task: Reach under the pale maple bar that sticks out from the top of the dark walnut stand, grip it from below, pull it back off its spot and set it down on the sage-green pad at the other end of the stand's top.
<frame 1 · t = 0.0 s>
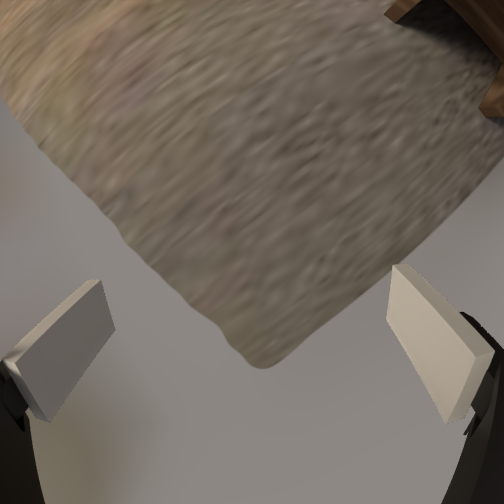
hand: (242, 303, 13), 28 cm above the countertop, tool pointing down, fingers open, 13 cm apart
walnut stand: (457, 40, 29), on the countertop
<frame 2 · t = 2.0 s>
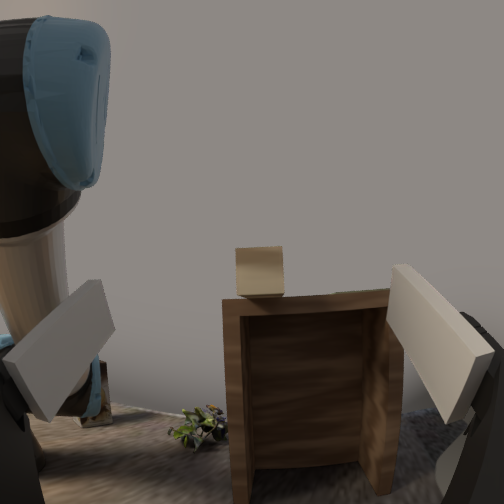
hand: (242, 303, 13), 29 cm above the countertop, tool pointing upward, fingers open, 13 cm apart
maple bar: (265, 298, 37), point 30 cm above the countertop, touching walnut stand
coffee box: (93, 422, 58), on the countertop
walnut stand: (310, 482, 36), on the countertop
passion flower: (203, 447, 52), on the countertop
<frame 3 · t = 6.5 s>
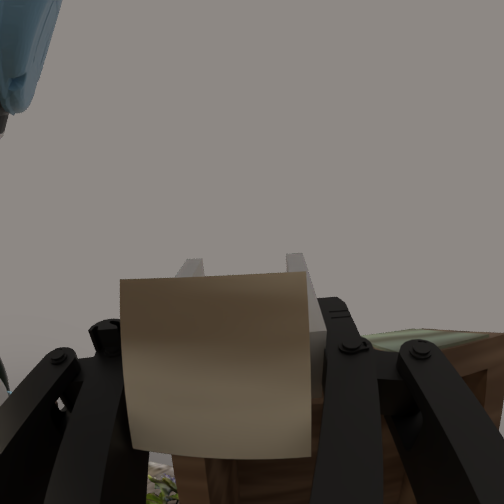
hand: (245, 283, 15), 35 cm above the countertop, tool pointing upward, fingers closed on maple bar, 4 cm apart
maple bar: (254, 366, 17), point 30 cm above the countertop, touching gripper, walnut stand
beer bottle: (1, 434, 44), on the countertop
when the fingers open (36 cm above the countertop, at t = 13.8 s): maple bar drops 1 cm, resting on walnut stand.
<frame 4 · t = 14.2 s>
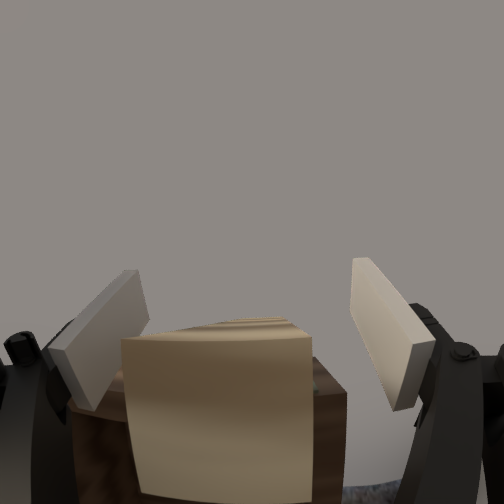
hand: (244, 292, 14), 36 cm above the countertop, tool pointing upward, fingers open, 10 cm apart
maple bar: (255, 387, 17), point 30 cm above the countertop, touching walnut stand
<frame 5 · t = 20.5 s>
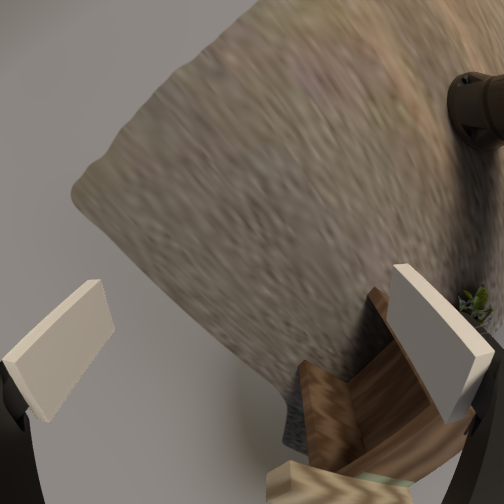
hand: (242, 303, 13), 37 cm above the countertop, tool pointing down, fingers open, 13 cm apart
maple bar: (349, 485, 29), point 30 cm above the countertop, touching walnut stand
walnut stand: (359, 345, 56), on the countertop
passion flower: (461, 305, 53), on the countertop
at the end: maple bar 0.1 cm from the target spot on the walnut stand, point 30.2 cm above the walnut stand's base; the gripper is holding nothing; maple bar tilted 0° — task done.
